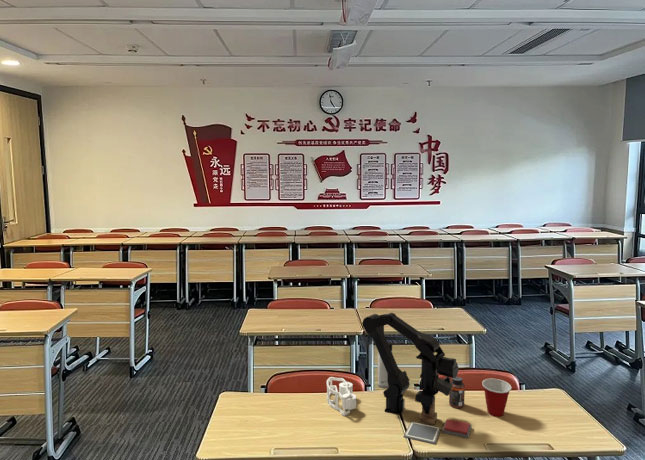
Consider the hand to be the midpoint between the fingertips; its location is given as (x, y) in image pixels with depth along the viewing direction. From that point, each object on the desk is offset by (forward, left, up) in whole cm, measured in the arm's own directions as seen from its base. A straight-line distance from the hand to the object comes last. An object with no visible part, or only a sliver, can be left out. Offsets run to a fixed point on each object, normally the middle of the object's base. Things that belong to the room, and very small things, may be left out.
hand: (428, 411), depth 174 cm
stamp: (0, 0, -4) cm, 4 cm away
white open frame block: (-36, -1, -4) cm, 36 cm away
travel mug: (-24, +23, -4) cm, 33 cm away
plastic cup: (+23, +16, -4) cm, 28 cm away
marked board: (0, -10, -4) cm, 11 cm away
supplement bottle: (+8, +17, -4) cm, 19 cm away
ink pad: (+11, -3, -4) cm, 12 cm away
